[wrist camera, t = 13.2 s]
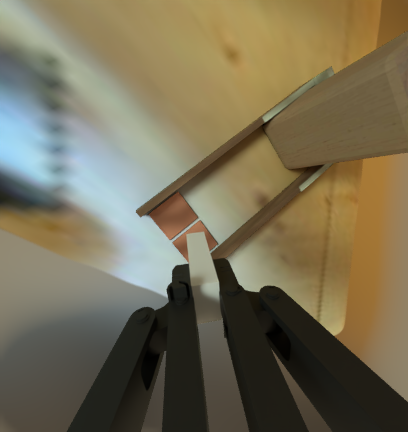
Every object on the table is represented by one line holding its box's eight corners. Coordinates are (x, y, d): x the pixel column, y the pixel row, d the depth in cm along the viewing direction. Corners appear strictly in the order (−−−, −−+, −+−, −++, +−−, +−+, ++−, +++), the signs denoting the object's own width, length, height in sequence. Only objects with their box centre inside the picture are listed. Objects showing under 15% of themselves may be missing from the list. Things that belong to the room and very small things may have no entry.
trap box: (136, 209, 31) (135, 214, 25) (302, 85, 37) (331, 66, 31) (192, 275, 35) (202, 292, 29) (332, 153, 41) (362, 147, 36)
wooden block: (318, 142, 40) (478, 98, 21) (285, 171, 38) (426, 153, 19) (296, 96, 37) (459, -2, 18) (259, 126, 35) (395, 53, 16)
